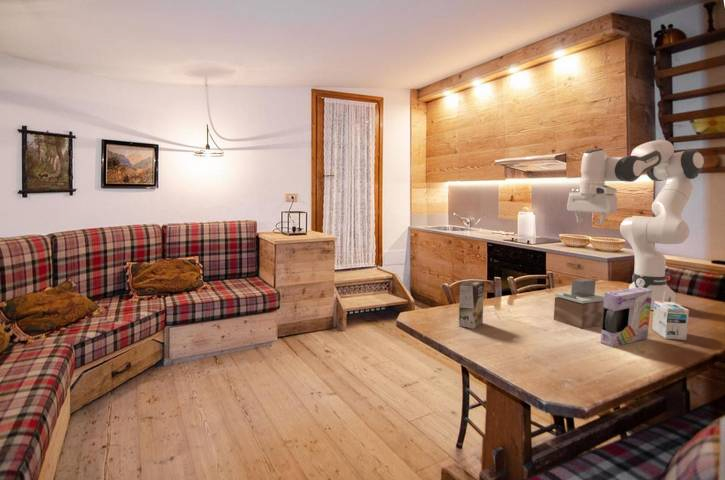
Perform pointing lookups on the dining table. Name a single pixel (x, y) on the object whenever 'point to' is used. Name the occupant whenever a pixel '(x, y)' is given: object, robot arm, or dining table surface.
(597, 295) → the lid
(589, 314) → the crate
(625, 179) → the robot arm
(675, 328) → the light bulb box
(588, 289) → the block
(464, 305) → the coffee box
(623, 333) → the cake pan box
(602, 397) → the dining table surface
